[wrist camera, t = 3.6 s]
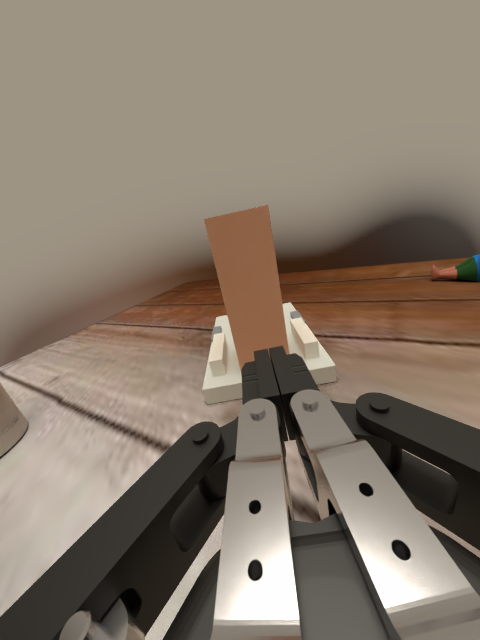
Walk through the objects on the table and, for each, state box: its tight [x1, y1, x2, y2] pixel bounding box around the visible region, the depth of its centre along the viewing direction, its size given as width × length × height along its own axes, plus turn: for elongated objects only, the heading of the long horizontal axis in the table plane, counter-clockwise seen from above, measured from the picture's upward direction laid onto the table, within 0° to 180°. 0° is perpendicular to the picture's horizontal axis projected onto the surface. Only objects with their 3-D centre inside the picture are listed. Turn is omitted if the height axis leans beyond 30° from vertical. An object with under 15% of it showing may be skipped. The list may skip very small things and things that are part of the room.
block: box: [204, 205, 289, 370], centre depth 26 cm, size 6×6×16 cm
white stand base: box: [202, 303, 337, 404], centre depth 34 cm, size 14×21×4 cm, turn 1°
